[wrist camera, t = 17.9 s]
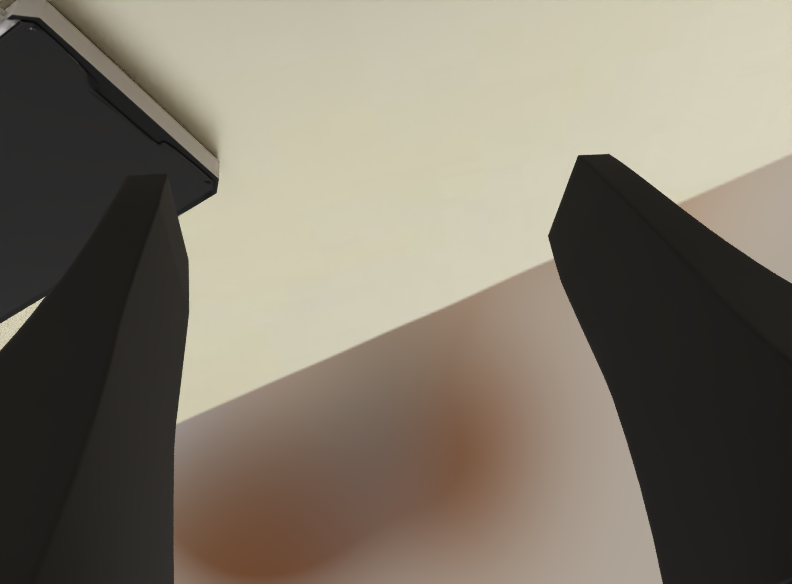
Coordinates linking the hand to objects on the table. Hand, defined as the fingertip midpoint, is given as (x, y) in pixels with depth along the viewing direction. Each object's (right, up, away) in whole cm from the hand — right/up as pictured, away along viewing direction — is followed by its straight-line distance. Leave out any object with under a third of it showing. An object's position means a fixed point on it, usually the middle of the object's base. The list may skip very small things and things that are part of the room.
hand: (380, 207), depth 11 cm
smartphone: (-14, +2, +11) cm, 18 cm away
